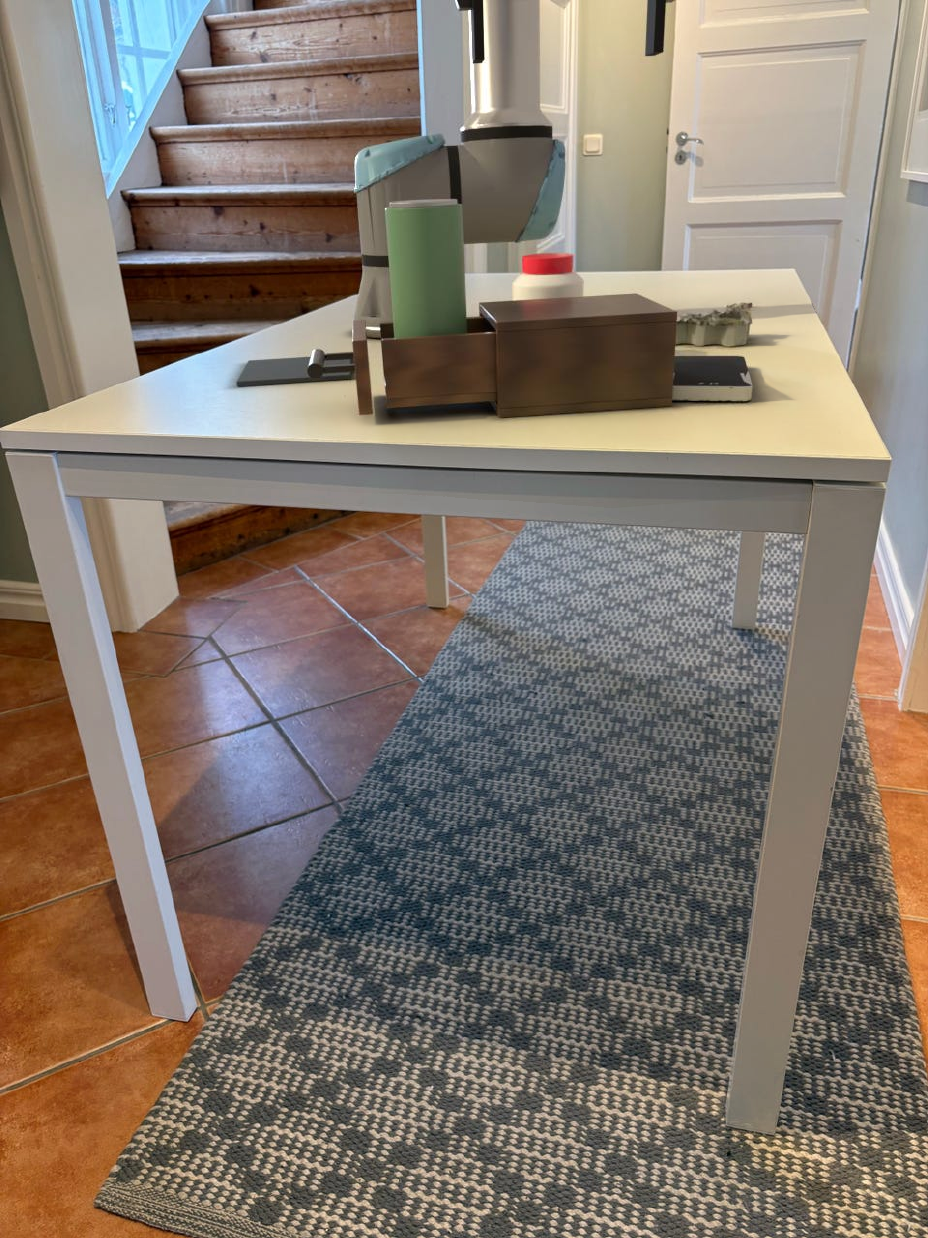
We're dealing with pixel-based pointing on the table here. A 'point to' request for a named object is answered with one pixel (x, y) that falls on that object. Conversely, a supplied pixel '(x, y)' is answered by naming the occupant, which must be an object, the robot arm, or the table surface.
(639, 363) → the cabinet
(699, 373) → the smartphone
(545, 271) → the pill bottle
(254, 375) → the mat
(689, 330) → the egg carton
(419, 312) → the can
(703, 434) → the table surface
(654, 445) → the table surface
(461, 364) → the drawer
